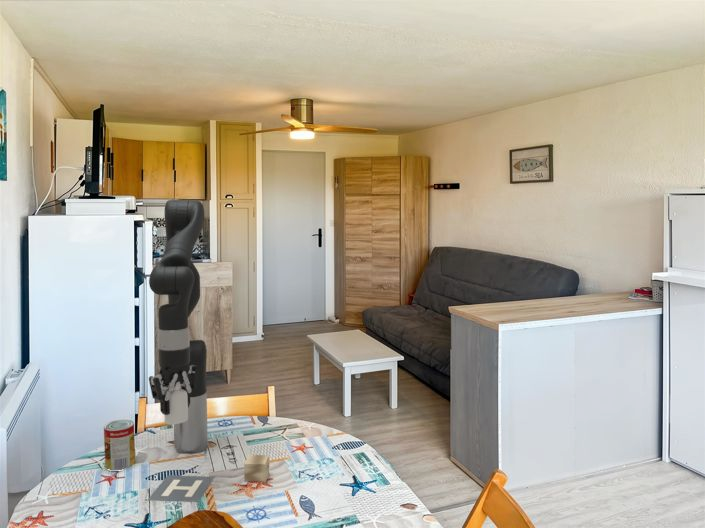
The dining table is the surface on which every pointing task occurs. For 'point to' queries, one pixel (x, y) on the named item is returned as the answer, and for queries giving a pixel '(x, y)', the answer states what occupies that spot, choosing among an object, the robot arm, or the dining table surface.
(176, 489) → the letter board
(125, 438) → the canned food
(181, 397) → the eye dropper bottle
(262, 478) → the maple block
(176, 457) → the dining table surface
